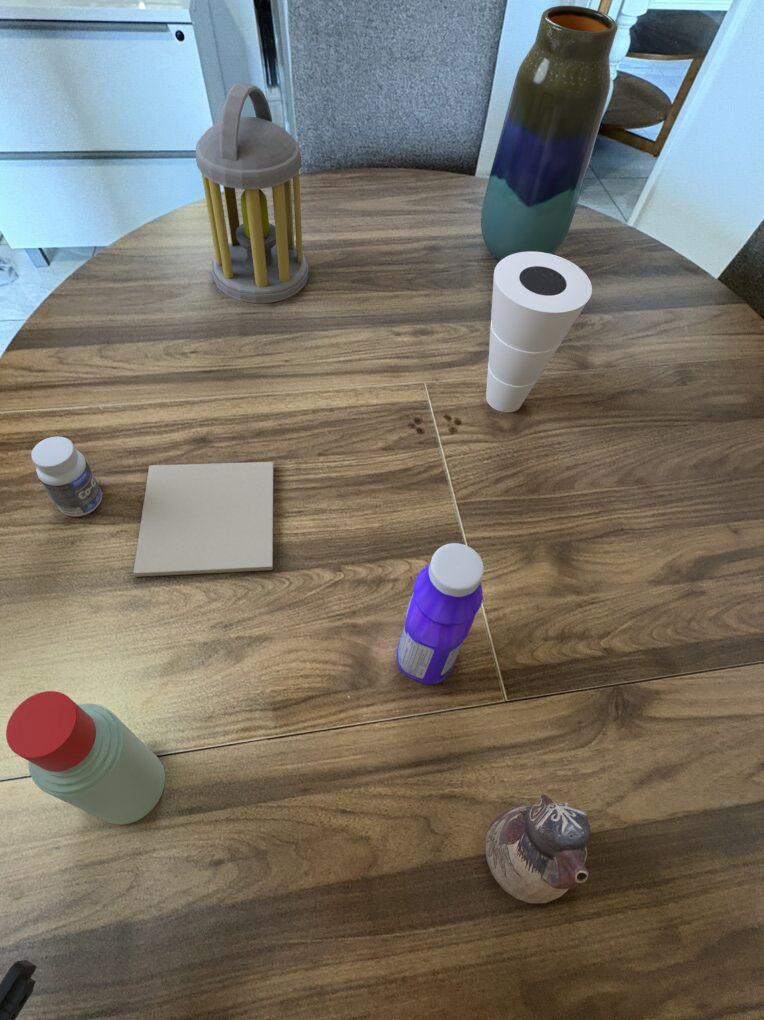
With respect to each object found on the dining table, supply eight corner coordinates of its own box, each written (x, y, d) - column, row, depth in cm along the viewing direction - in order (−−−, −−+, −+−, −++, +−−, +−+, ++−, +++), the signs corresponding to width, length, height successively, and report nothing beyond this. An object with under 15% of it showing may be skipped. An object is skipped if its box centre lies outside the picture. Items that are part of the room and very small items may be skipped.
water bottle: (85, 828, 50) (-23, 784, 35) (97, 751, 53) (3, 680, 38) (161, 821, 51) (88, 774, 35) (168, 745, 54) (104, 673, 39)
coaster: (134, 577, 63) (132, 573, 62) (150, 469, 71) (149, 465, 70) (273, 570, 64) (272, 566, 64) (273, 465, 72) (273, 461, 71)
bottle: (412, 610, 63) (436, 516, 49) (464, 630, 62) (505, 541, 48) (386, 674, 59) (405, 592, 45) (442, 697, 58) (479, 621, 44)
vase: (521, 289, 95) (592, 50, 69) (456, 246, 100) (500, 10, 74) (575, 257, 101) (659, 26, 75) (511, 218, 106) (569, -10, 80)
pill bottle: (97, 518, 66) (70, 470, 59) (52, 517, 66) (19, 469, 59) (108, 483, 69) (83, 433, 62) (64, 481, 69) (35, 432, 62)
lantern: (238, 237, 97) (214, 51, 77) (322, 259, 96) (320, 75, 75) (196, 288, 89) (155, 96, 69) (286, 313, 88) (272, 124, 67)
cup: (506, 360, 85) (543, 241, 70) (560, 408, 81) (612, 291, 66) (447, 390, 81) (473, 270, 66) (501, 441, 77) (542, 325, 62)
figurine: (563, 808, 53) (616, 781, 43) (574, 906, 49) (636, 900, 39) (481, 804, 53) (516, 776, 43) (486, 902, 49) (526, 895, 39)
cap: (24, 774, 38) (-3, 761, 35) (38, 711, 40) (13, 693, 37) (90, 769, 39) (69, 755, 35) (100, 707, 41) (81, 688, 38)
